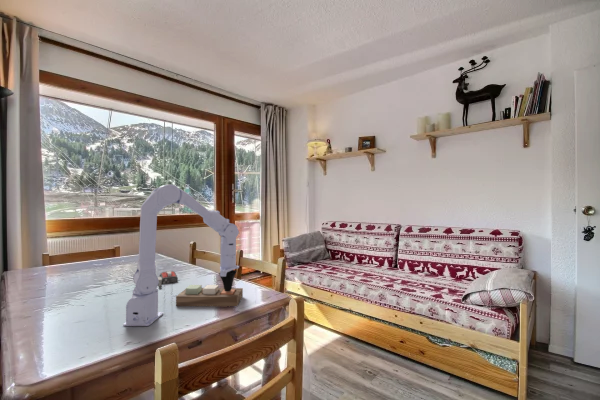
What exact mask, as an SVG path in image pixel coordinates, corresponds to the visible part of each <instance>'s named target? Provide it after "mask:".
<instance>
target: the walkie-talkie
mask: <svg viewBox="0 0 600 400" xmlns="http://www.w3.org/2000/svg"><path fill="white" fill-rule="evenodd" d="M157 277H158V280H159V284H158V287H159V288H162V287H163V285H165V284H172V283H178V278H179V277H178V275H177V274H176V272H175V271H173V270H166V271H162V272H161V273H160V274H159V276H157Z"/></svg>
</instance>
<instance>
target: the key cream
mask: <svg viewBox="0 0 600 400" xmlns="http://www.w3.org/2000/svg"><path fill="white" fill-rule="evenodd" d="M202 288H203V294H205V295H215V294H216V293H217V292H218V288H219V285H218V284H207V285H205V286H204V287H202Z"/></svg>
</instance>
